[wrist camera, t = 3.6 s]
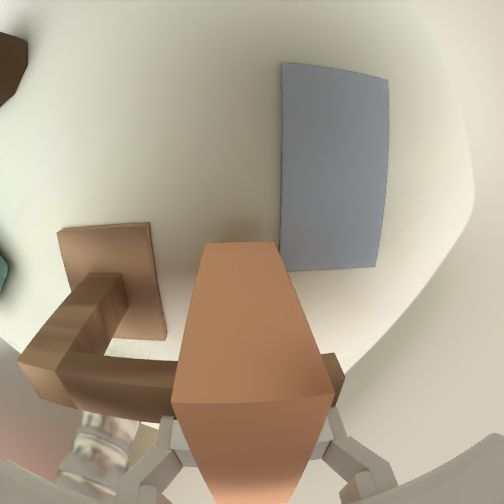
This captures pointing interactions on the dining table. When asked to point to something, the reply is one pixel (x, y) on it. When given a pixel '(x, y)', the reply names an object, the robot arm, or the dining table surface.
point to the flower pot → (3, 271)
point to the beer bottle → (11, 64)
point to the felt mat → (332, 167)
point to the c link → (249, 376)
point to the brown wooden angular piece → (110, 329)
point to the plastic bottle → (97, 456)
